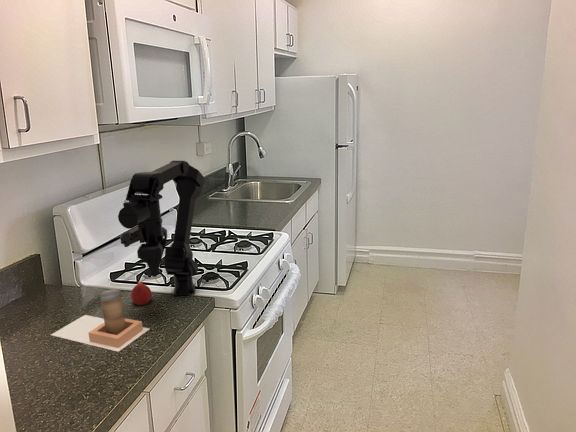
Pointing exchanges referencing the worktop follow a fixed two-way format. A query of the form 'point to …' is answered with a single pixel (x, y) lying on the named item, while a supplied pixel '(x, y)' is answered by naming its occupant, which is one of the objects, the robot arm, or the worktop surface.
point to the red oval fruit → (141, 294)
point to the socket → (115, 340)
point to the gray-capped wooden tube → (113, 311)
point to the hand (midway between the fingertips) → (156, 270)
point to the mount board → (83, 327)
